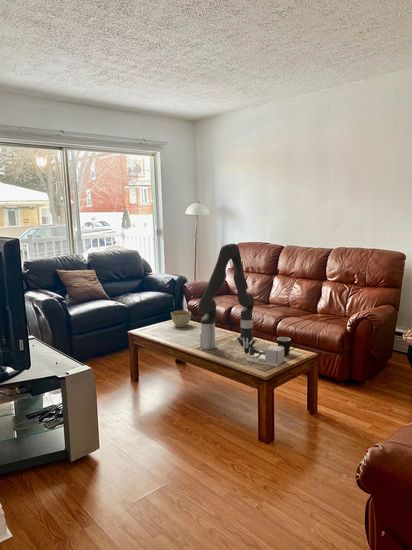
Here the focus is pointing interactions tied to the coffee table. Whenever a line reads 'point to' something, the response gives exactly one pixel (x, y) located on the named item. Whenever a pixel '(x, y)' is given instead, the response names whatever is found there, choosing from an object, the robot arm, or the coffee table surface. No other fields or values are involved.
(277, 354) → the gauge body
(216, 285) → the robot arm
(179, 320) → the planter bowl
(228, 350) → the coffee table surface
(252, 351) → the plunger
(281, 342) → the coffee mug
